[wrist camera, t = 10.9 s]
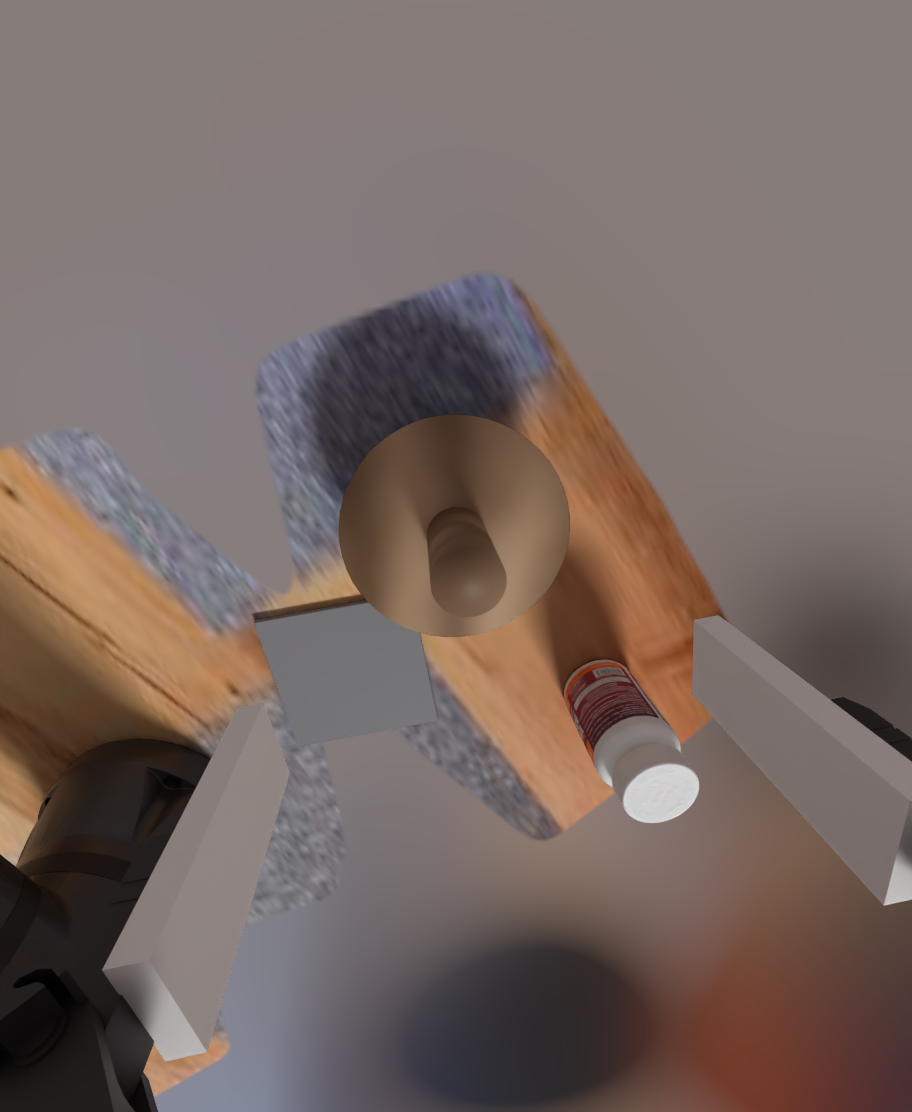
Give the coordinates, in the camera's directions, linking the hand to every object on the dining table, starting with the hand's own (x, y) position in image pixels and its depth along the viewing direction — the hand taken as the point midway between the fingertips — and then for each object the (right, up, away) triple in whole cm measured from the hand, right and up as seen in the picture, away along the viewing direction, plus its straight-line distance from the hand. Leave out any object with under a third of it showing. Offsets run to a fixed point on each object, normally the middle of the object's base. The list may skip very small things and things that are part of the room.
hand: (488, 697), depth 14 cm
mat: (-9, -5, +24) cm, 26 cm away
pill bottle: (+11, -7, +27) cm, 30 cm away
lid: (-1, +6, +15) cm, 16 cm away
